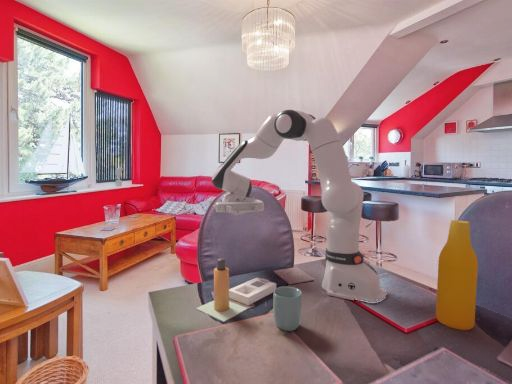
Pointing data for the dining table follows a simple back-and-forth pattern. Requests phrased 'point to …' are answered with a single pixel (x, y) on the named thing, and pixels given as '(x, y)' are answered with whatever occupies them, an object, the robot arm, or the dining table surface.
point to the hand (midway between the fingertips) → (244, 208)
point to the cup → (287, 307)
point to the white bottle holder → (252, 290)
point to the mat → (225, 315)
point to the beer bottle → (457, 279)
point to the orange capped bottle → (221, 286)
